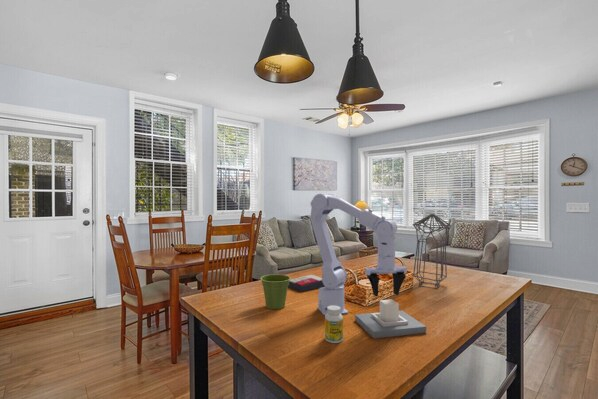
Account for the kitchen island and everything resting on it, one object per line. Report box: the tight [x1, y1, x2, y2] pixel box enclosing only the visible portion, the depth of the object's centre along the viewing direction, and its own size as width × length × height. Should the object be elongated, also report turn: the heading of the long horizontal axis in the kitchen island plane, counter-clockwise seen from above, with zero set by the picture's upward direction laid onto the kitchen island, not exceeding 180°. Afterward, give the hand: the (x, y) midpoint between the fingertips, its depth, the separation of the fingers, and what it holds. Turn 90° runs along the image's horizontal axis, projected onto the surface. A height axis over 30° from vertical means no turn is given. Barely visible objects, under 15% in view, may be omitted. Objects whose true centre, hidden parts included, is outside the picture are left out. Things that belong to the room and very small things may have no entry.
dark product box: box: [288, 274, 325, 293], centre depth 146 cm, size 11×4×15 cm
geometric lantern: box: [412, 213, 452, 290], centre depth 148 cm, size 16×16×35 cm
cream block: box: [379, 298, 400, 322], centre depth 101 cm, size 4×4×6 cm
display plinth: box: [354, 310, 427, 339], centre depth 101 cm, size 18×14×3 cm
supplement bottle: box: [324, 305, 344, 344], centre depth 92 cm, size 5×5×10 cm
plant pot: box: [259, 273, 292, 311], centre depth 119 cm, size 12×12×11 cm
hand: (385, 294), depth 105 cm, fingers open, 7 cm apart
